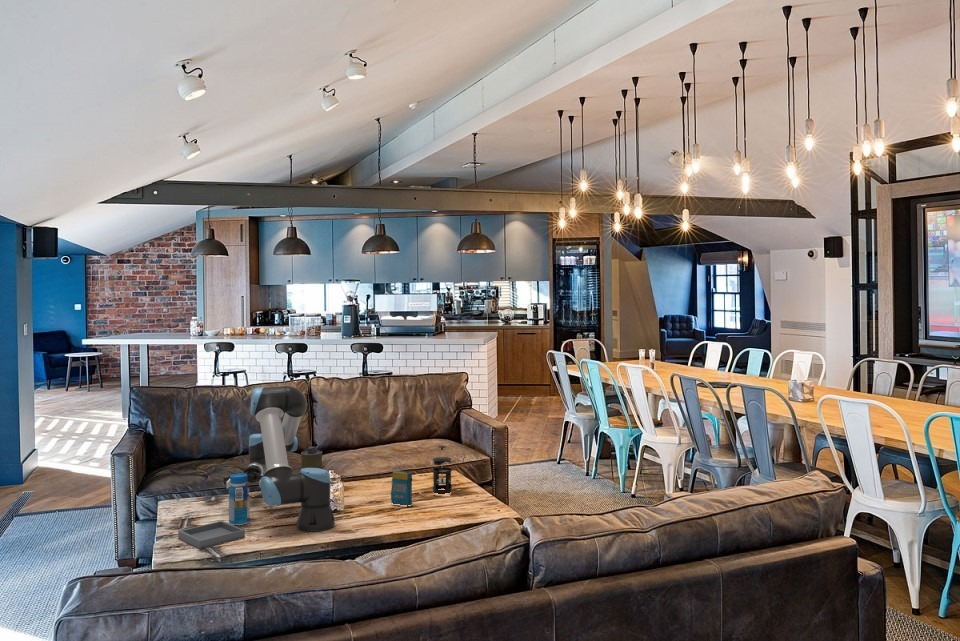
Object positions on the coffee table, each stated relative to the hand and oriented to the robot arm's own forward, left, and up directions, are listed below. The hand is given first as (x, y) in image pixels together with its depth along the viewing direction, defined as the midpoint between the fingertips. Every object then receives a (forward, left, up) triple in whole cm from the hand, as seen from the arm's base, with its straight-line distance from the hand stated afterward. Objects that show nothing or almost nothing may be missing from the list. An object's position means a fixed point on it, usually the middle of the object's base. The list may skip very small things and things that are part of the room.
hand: (243, 484), depth 308 cm
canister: (+20, -48, -14) cm, 53 cm away
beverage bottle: (-8, +6, -14) cm, 17 cm away
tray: (-18, +23, -13) cm, 32 cm away
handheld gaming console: (-38, -56, -14) cm, 69 cm away
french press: (-37, -82, -14) cm, 91 cm away
